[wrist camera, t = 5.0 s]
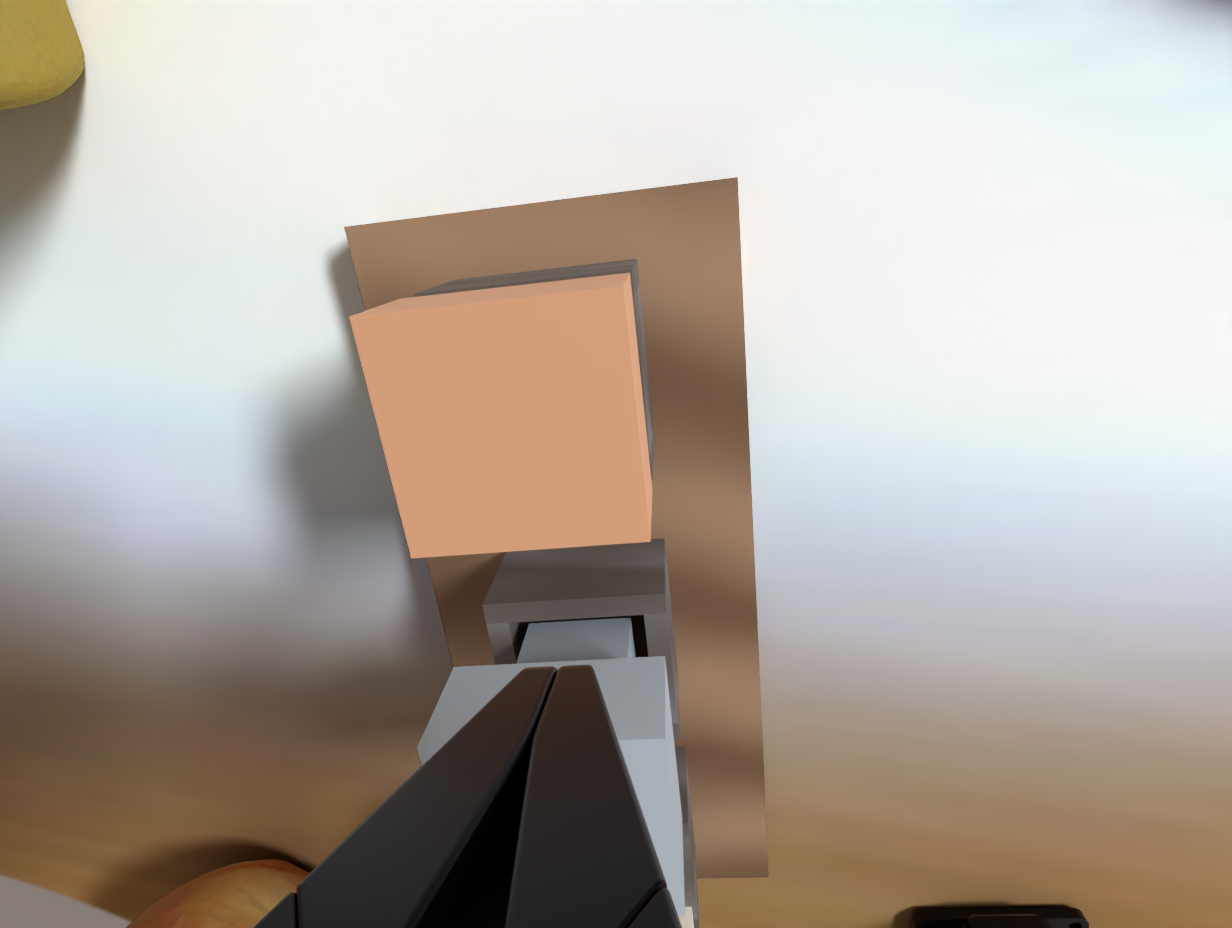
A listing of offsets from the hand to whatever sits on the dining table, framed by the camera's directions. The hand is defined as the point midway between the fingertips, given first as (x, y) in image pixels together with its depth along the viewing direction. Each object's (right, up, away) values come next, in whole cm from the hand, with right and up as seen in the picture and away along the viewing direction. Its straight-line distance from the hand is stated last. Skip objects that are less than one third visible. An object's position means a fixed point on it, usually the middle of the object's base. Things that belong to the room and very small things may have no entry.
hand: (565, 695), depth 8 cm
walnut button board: (0, -1, +14) cm, 14 cm away
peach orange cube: (-1, +5, +9) cm, 11 cm away
